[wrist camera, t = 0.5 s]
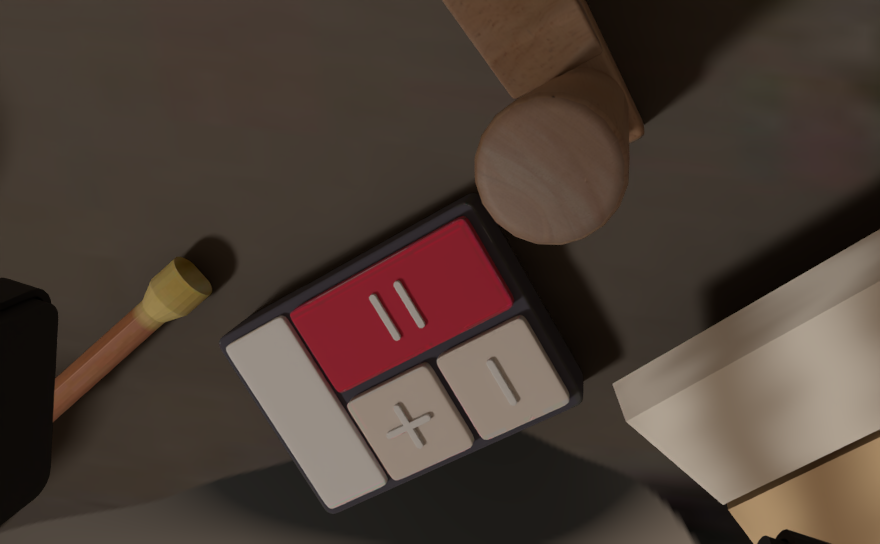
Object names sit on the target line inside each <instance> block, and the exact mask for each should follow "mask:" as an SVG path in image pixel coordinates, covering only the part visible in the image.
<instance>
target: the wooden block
mask: <svg viewBox="0 0 880 544" xmlns="http://www.w3.org/2000/svg"><path fill="white" fill-rule="evenodd" d="M442 1H443V2H444V4H445V5H446V7H447V8H448V9H449V11H450V12H451V14H452V15H453V16H454V18H455V19H456V21H457V22H458V23H459V25H460V26H461V28H462V29H463V30H464V32H465V33H466V35H467V36H468V37H469V39H470V40H471V41H472V43H473V44H474V46H475V47H476V48H477V50H478V51H479V53H480V54H481V55H482V57H483V58H484V60H485V61H486V62H487V64H488V65H489V67H490V68H491V69H492V71H493V72H494V74H495V75H496V76H497V78H498V79H499V81H500V82H501V83H502V85H503V86H504V88H505V89H506V90H507V92H508V93H509V94H510V96H511V97H512V98H514V99H517V98H519V97H520V98H519V99H517V100H515V101H514V102H512V103H511V104H510V105H508V106H507V107H506V108H504V109H503V110H502V111H501V112H499V113H498V114H497V115H495V117H494V118H493V120H492V121H491V122H490V124H489V125H488V127H487V128H486V130H485V131H484V133H483V134H482V136H481V139H480V142H479V145H478V149H477V152H476V155H475V183H476V186H477V189H478V192H479V195H480V198H481V201H482V204H483V205H484V207H485V208H486V209H487V211H488V212H489V213H490V215H491V216H492V218H493V219H494V220H495V222H496V223H497V224H499V225H500V226H501V227H503V228H504V229H505V230H507V231H508V232H510V233H511V234H512V235H514V236H515V237H518V238H521V239H524V240H526V241H529V242H532V243H535V244H545V245H563V244H566V243H570V242H574V241H577V240H581V239H584V238H586V237H587V236H589V235H590V234H592V233H593V232H595V231H596V230H598V229H599V228H601V227H603V226H604V225H605V224H606V223H607V221H608V220H609V219H610V218H611V216H612V215H613V214H614V213H615V212H616V210H617V209H618V208H619V207H620V204H621V201H622V199H623V196H624V194H625V191H626V188H627V186H628V180H629V144H630V143H632V142H634V141H636V140H638V139H640V138H641V137H642V136H643V135H644V125H643V120H642V118H641V116H640V114H639V112H638V110H637V108H636V106H635V104H634V101H633V99H632V97H631V95H630V93H629V91H628V89H627V87H626V85H625V82H624V80H623V78H622V76H621V74H620V72H619V70H618V68H617V66H616V64H615V61H614V59H613V57H612V55H611V53H610V51H609V49H608V47H607V45H606V42H605V40H604V38H603V36H602V34H601V32H600V30H599V28H598V26H597V23H596V21H595V19H594V17H593V15H592V13H591V11H590V9H589V7H588V5H587V2H586V0H442ZM523 95H524V96H523ZM521 96H522V97H521Z"/></svg>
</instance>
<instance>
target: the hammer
mask: <svg viewBox="0 0 880 544" xmlns="http://www.w3.org/2000/svg"><path fill="white" fill-rule="evenodd" d="M211 293H212V287H211V284H210V282H209V281H208V280H207V279H206V278H205V276H204V275H203V274H202V273H201V272H200V271H199V270H198V269H197V267H196V266H195V265H194V264H193V263H192V262H190V261H189V260H187V259H185V258H182V257H176V258H175V259H174V260H173V261H172V262H170V263H169V264H168V265H167V266H166V267H165V268H164V269H163V270H162V271H160V272H159V273H158V274H157V275H156V276H155V277H154V278H153V279H152V280H151V281H150V284H149V286H148V289H147V291H146V293H145V296H144V298H143V300H142V301H141V302H140V303H139V304H138V305H137V306H136V307H135V308H134V309H132V310H131V311H130V312H129V313H128V314H127V315H126V316H125V317H124V318H122V319H121V320H120V321H119V322H118V323H117V324H116V325H115V326H113V327H112V328H111V329H110V330H109V331H108V332H107V333H106V334H105V335H103V336H102V337H101V338H100V339H99V340H98V341H97V342H96V343H94V344H93V345H92V346H91V347H90V348H89V349H88V350H87V351H86V352H84V353H83V354H82V355H81V356H80V357H79V358H78V359H77V360H75V361H74V362H73V363H72V364H71V365H70V366H69V367H68V368H67V369H65V370H64V371H63V372H62V373H61V374H60V375H59V376H58V377H57V378H55V390H54V409H53V422H54V421H55V420H56V419H57V418H58V417H60V416H61V415H62V414H63V413H64V412H65V411H66V410H67V409H69V408H70V407H71V406H72V405H73V404H74V403H75V402H76V401H77V400H79V399H80V398H81V397H82V396H83V395H84V394H85V393H86V392H88V391H89V390H90V389H91V388H92V387H93V386H94V385H95V384H96V383H98V382H99V381H100V380H101V379H102V378H103V377H104V376H105V375H107V374H108V373H109V372H110V371H111V370H112V369H113V368H114V367H115V366H117V365H118V364H119V363H120V362H121V361H122V360H123V359H124V358H126V357H127V356H128V355H129V354H130V353H131V352H132V351H133V350H134V349H136V348H137V347H138V346H139V345H140V344H141V343H142V342H143V341H145V340H146V339H147V338H148V337H149V336H150V335H151V334H152V333H153V332H155V331H156V330H157V329H158V328H159V327H160V326H161V325H162V324H164V323H165V322H167V321H170V320H174V319H177V318H180V317H183V316H186V315H188V314H189V313H190V312H191V311H192V310H193V309H195V308H196V307H197V306H198V305H199V304H200V303H201V302H202V301H204V300H205V299H206V298H207V297H208V296H209V295H210V294H211Z"/></svg>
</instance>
